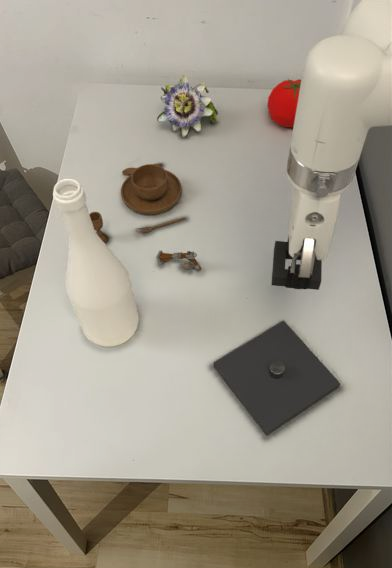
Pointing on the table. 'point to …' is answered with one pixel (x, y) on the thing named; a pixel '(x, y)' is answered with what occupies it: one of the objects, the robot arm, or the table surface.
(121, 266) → the wine bottle
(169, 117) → the passion flower
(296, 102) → the tomato
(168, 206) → the place setting
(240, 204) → the table surface
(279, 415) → the base pad
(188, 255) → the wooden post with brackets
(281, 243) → the black block
